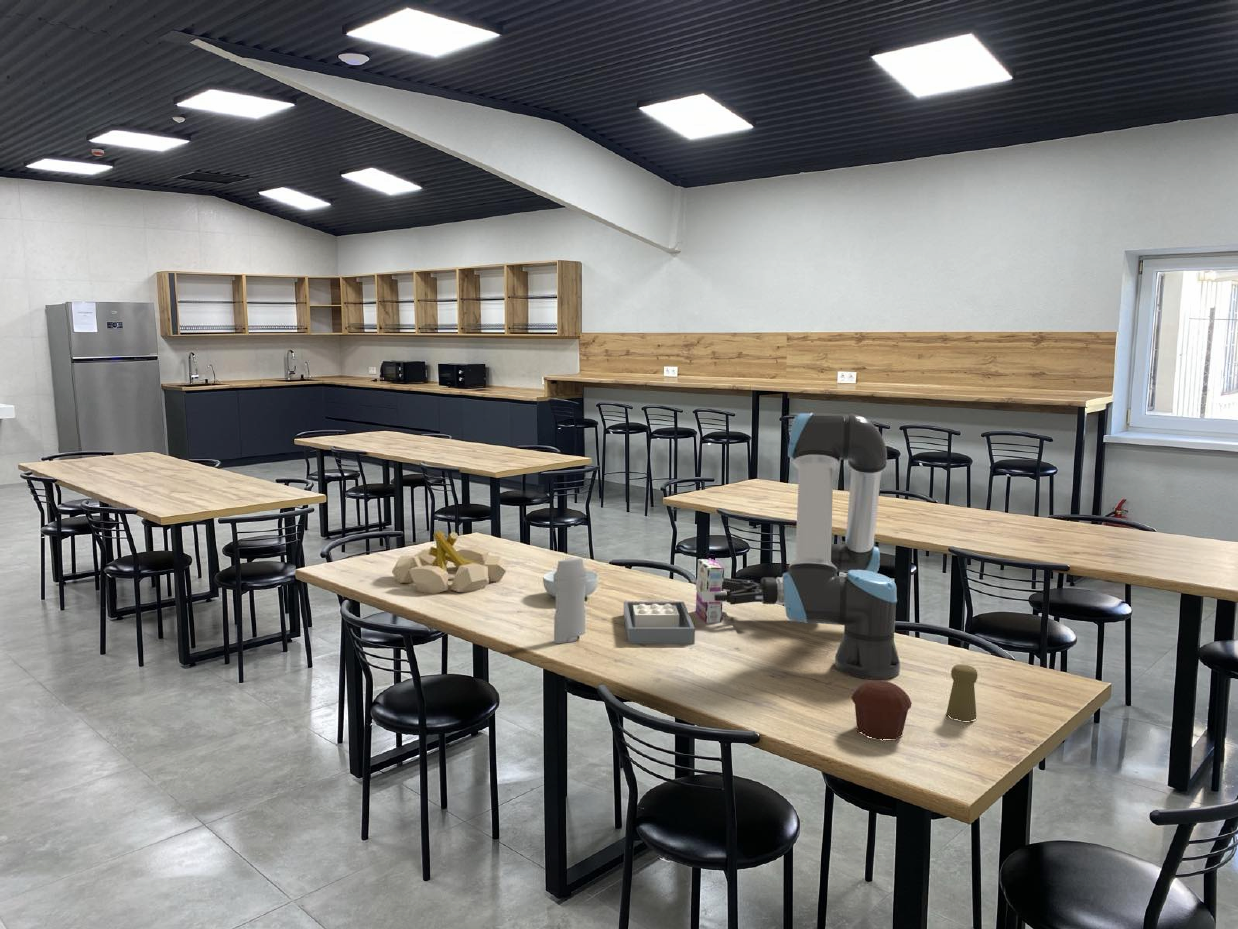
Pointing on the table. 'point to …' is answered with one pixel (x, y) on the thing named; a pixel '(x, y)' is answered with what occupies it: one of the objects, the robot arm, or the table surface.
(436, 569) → the campfire
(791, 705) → the table surface
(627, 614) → the tote
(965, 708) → the cork
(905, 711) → the muffin
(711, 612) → the candy bar box
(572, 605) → the tall pale column
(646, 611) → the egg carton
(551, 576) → the cereal bowl
